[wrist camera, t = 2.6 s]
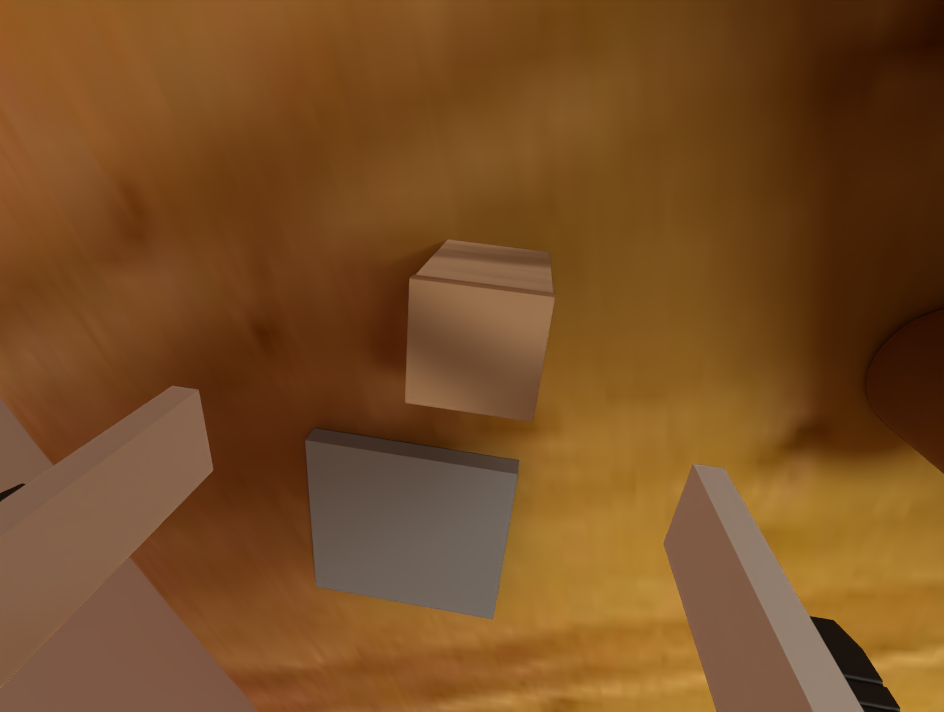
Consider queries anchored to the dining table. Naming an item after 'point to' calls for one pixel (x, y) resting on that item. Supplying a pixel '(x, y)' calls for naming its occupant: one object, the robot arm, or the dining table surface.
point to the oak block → (479, 329)
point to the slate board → (409, 521)
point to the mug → (912, 385)
